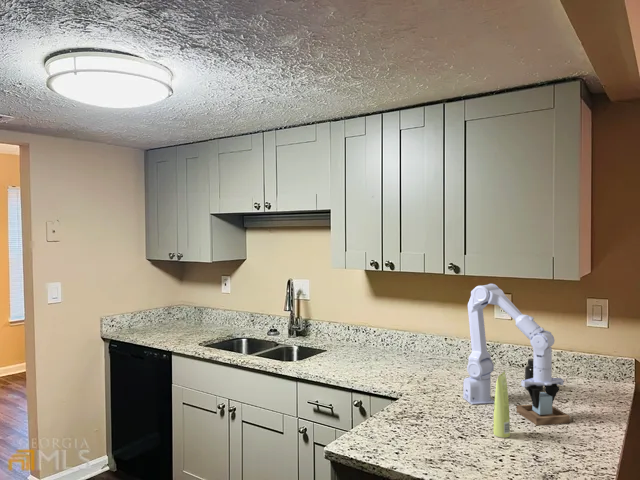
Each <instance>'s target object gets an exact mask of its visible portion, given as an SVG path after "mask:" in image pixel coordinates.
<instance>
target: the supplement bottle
mask: <svg viewBox="0 0 640 480" xmlns="http://www.w3.org/2000/svg"><path fill="white" fill-rule="evenodd" d="M531 378H533V358H528V359H527V365H526V366H525V368H524V380H526V379H531ZM537 387H538V389H540V390H541V391H540V392H544V391H543V390H544V386H537ZM524 388H525V390H526V391H528V390H527V388H526V387H524Z"/></svg>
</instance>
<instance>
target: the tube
mask: <svg viewBox="0 0 640 480" xmlns="http://www.w3.org/2000/svg"><path fill="white" fill-rule="evenodd" d="M509 402H510V401H509V391H508V381H507V375H506V371H505V370H503V371H502V372H501V373H500V374H498V375H497V379H496V383H495V392H494V403H493V435H494V436H495V437H497V438H502V439H505V438H509V437H511V423H510V422H511V420H510V418H511V417H510V403H509Z"/></svg>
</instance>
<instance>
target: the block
mask: <svg viewBox="0 0 640 480" xmlns="http://www.w3.org/2000/svg"><path fill="white" fill-rule="evenodd" d="M531 403H532V402H531ZM552 406H553V404H552V396H550V395H549V394H547V393H546V391H541V392H540V394H539V406H538V408H535V407H534V406H533V403H532V410H533V411H535V412H536V413H538V414H539V415H546V414H552Z"/></svg>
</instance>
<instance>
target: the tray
mask: <svg viewBox="0 0 640 480" xmlns="http://www.w3.org/2000/svg"><path fill="white" fill-rule="evenodd" d="M516 412H517V414H519V415H520V416H522V417H524V418H525V419H526V420H527V421H529V422H531V423H532V424H533V425H535V426H544V425H545V426H547V425H558V424H559V425H560V424H562V425H563V424H570V422H571V419H570V418H571V417H570V415H569V414H567V413H565V412H564V411H562V410H560V409H558V408H557V407H555V406H553V405H552V414H546V415H539V414H538V413H536V412H535V411H533V410H532V404H520V405H519V404H517V405H516Z"/></svg>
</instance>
